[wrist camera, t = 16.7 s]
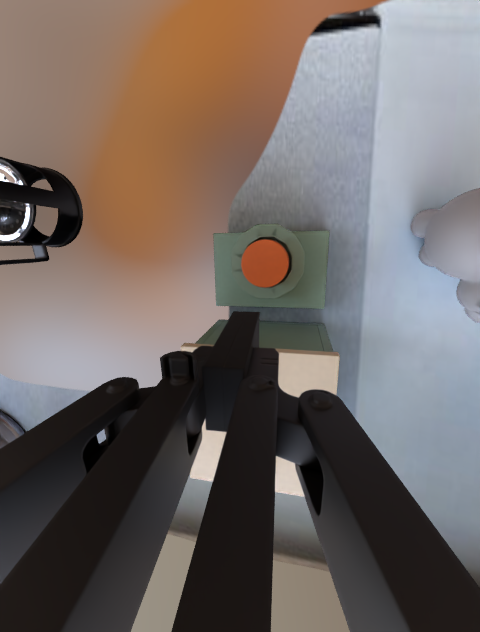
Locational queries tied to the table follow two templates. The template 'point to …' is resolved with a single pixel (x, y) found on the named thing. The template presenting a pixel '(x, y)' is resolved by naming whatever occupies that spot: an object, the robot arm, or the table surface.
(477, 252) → the round bodied animal figurine
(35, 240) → the french press
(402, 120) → the table surface
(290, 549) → the table surface
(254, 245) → the button
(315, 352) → the lid
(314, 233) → the control block
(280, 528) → the table surface
